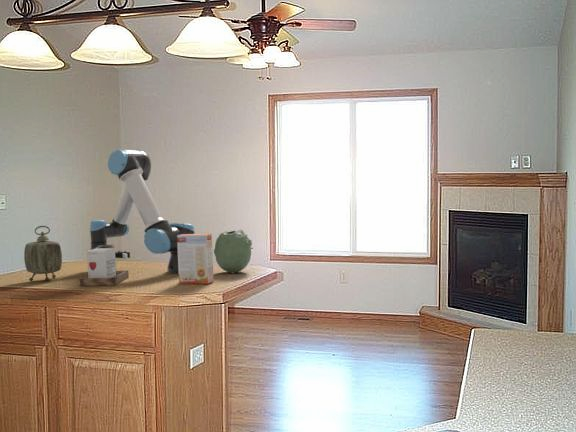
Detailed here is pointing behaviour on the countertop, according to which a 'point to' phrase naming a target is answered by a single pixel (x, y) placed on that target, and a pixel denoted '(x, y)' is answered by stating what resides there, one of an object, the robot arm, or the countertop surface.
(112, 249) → the supplement box
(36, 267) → the tabletop clock
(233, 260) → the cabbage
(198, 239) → the cracker box
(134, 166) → the robot arm
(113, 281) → the wooden tray
